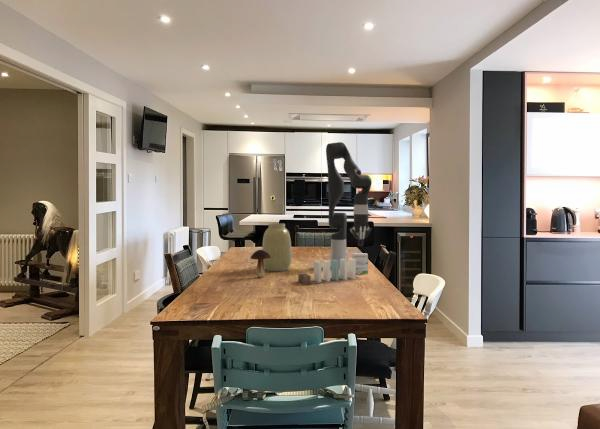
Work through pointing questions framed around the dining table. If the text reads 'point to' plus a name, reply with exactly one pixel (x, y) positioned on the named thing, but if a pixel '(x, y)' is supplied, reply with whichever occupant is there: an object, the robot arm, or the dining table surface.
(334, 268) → the domino
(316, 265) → the domino
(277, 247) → the vase
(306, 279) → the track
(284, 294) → the dining table surface
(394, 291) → the dining table surface
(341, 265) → the domino
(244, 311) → the dining table surface
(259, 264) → the decorative mushroom
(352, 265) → the domino
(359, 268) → the ink box
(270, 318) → the dining table surface
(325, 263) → the domino
